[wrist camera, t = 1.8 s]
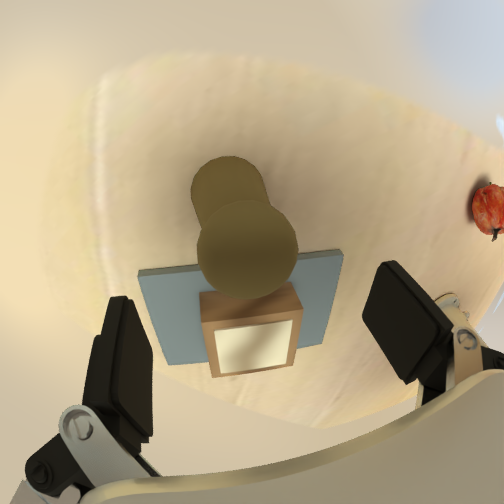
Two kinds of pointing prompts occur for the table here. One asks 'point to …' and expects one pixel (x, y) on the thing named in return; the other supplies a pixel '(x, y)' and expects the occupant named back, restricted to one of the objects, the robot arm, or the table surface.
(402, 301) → the robot arm
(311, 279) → the board
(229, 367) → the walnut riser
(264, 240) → the cork
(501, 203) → the pomegranate
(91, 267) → the table surface
